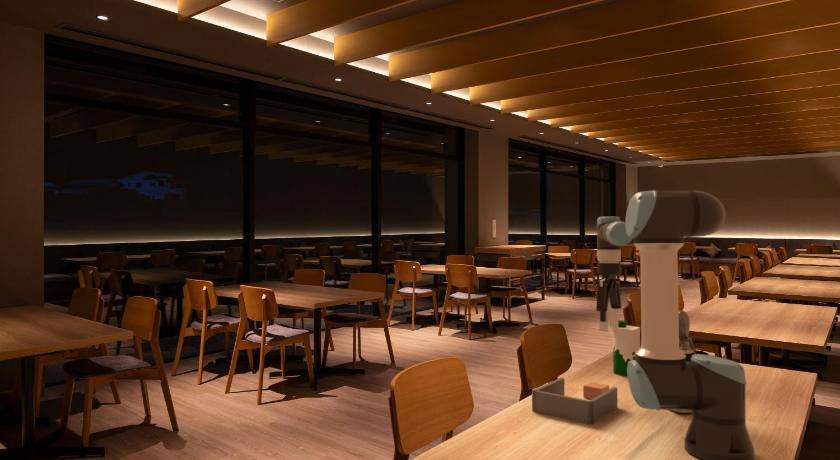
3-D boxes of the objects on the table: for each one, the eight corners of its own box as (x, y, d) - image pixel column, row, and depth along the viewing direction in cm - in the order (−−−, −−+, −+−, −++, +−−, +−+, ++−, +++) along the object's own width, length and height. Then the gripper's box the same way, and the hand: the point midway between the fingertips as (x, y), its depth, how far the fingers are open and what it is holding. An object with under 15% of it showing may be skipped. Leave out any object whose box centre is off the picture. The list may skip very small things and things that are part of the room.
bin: (591, 424, 155) (591, 402, 155) (532, 410, 167) (532, 390, 167) (617, 407, 170) (617, 387, 170) (560, 396, 181) (560, 377, 181)
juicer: (694, 386, 180) (685, 301, 172) (706, 407, 170) (697, 318, 162) (662, 389, 182) (652, 306, 174) (672, 410, 171) (661, 322, 164)
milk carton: (618, 371, 213) (617, 319, 213) (642, 375, 208) (642, 321, 208) (610, 376, 206) (610, 322, 206) (635, 380, 201) (635, 324, 201)
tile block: (601, 401, 176) (601, 389, 176) (583, 398, 180) (583, 385, 180) (609, 397, 181) (609, 385, 181) (591, 394, 185) (591, 381, 185)
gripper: (609, 260, 200) (610, 324, 199) (585, 263, 183) (585, 332, 183) (631, 261, 195) (631, 326, 195) (607, 263, 179) (608, 335, 178)
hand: (609, 329), depth 189 cm, fingers open, 8 cm apart
